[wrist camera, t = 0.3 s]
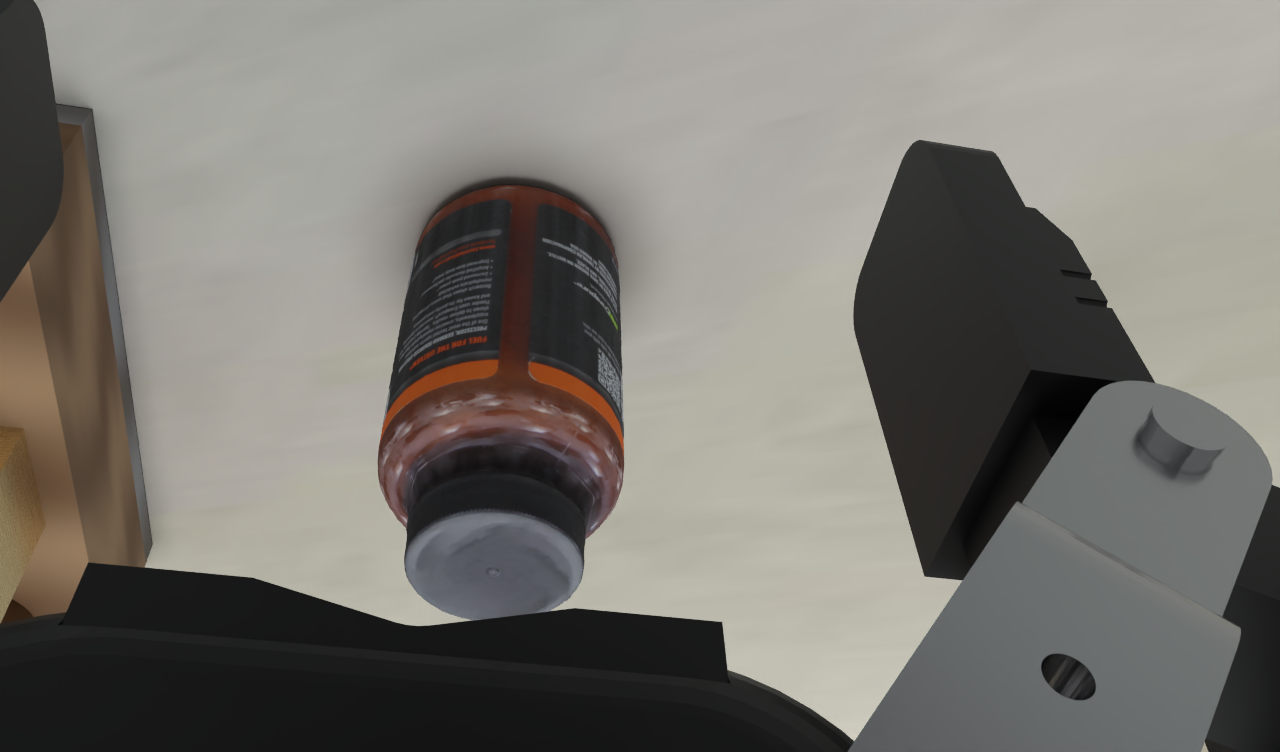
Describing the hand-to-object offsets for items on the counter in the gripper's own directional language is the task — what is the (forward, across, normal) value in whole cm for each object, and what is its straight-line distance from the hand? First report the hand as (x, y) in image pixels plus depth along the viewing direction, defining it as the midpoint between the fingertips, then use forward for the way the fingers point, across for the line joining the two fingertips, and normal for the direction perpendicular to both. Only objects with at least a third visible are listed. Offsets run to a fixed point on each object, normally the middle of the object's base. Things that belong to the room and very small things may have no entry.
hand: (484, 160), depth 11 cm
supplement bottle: (+19, -1, +14) cm, 23 cm away
